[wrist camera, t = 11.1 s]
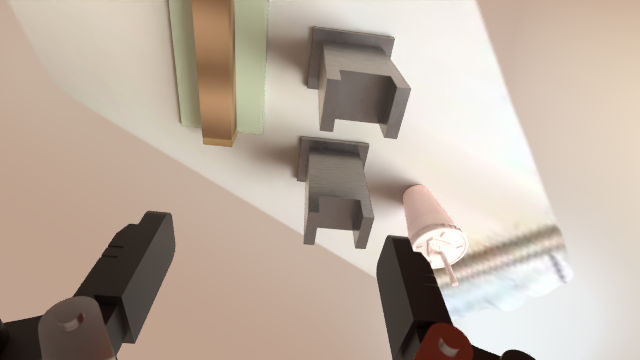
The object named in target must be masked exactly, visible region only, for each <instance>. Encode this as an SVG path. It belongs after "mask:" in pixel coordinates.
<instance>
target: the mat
mask: <svg viewBox="0 0 640 360" xmlns="http://www.w3.org/2000/svg"><path fill="white" fill-rule="evenodd" d="M168 1H169V10H170V19H171V29H172V38H173V47H174V57H175V66H176V75H177V85H178V94H179V103H180V113H181V122H182V126H188V127H197V128H202V124H201V111H200V99H199V87H198V75H197V63H196V51H195V38H194V26H193V14H192V2H191V0H168ZM234 6H235V59H236V111H237V132H244V133H253V134H263V124H264V99H265V73H266V48H267V22H268V0H234Z"/></svg>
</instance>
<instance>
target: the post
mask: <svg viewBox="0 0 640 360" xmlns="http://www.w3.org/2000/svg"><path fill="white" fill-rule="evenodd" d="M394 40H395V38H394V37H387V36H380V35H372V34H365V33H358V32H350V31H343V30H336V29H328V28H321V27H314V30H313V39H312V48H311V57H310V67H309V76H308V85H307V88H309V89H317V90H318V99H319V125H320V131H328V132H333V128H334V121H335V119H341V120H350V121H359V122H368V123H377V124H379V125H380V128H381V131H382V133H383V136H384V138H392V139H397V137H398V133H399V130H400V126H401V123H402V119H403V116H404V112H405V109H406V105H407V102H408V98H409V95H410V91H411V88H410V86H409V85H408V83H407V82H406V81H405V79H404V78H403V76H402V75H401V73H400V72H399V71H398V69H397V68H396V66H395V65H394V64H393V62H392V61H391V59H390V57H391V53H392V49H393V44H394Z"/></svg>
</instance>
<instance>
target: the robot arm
mask: <svg viewBox="0 0 640 360" xmlns="http://www.w3.org/2000/svg"><path fill="white" fill-rule="evenodd" d="M174 252H175V237H174V229H173V221H172V215H171V214H170V213H166V212H157V211H156V212H155V211H147V212H146V213H145V214H144V216H143V218H142V219H141V221H140V222H139V224H129V225H127V226H126V227H124V228H123V229H122V230H120V231H119V232H118V233H116V235H115V236H114V238H113V239H112V241H111V242H110V243H109V245H108V248H106V249H105V251H104V252H103V254H102V257H101V258H99V260H98V261H97V262H96V264H95V265H94V267H93V268H92V270H91V271H90V272H89V274H88V275H87V277H86V279H85V280H84V281H83V283H82V284H81V286H80V287H79V288H78V290H77V291H76V293H75V294H74V296H73V297H71V298H68V299H65V300H63V301H60V302H59V303H57V304H55V305H54V306H52V307H51V308H50V309H49V310H47V312H46V313H45V314H44V315H41V316H37V317H32V318H28V319H22V320H17V321H12V322H6V323H3V322H2V321H1V319H0V360H118V359H117V356H116V355H117V353H118V351H119V349H120V347H121V345H122V343H132V344H133V343H134V344H135V342H136V340H137V338H138V335H139V333H140V331H141V329H142V326H143V324H144V322H145V320H146V318H147V315H148V313H149V311H150V308H151V306H152V304H153V302H154V300H155V298H156V295H157V293H158V291H159V288H160V286H161V284H162V282H163V280H164V277H165V275H166V273H167V271H168V268H169V266H170V264H171V262H172V259H173V257H174ZM377 281H378V287H379V292H380V297H381V302H382V307H383V312H384V317H385V323H386V328H387V333H388V338H389V343H390V348H391V354H392V359H393V360H535V359H534V358H533V357H531V356H530V355H528V354H526V353H524V352H522V351H519V350H508V351H506V352H504V353H503V355H502V356H498V355H496V354H493V353H491V352H488V351H485V350H483V349H480V348H478V347H475V346H474V345H472V344H471V343H470V341H469V340H468V338H467V337H466V336H465V335H464V333H463V332H462V331H460V330H459V329H458V328H456V327H454V326H453V323H452V321H451V318H450V316H449V313H448V310H447V308H446V305H445V302H444V299H443V297H442V294H441V291H440V289H439V287H438V283H437V281H436V278H435V277H434V273H433V270H432V267H431V265H430V262H429V261H428V260H427V259H426V258H425V256H424V255H423V254H422V253H421V252H417V251H413V248H412V245H411V242H410V239H409V238H408V237H403V236H393V235H388V236H387V238H386V240H385V243H384V246H383V249H382V251H381V254H380V257H379V260H378V263H377Z"/></svg>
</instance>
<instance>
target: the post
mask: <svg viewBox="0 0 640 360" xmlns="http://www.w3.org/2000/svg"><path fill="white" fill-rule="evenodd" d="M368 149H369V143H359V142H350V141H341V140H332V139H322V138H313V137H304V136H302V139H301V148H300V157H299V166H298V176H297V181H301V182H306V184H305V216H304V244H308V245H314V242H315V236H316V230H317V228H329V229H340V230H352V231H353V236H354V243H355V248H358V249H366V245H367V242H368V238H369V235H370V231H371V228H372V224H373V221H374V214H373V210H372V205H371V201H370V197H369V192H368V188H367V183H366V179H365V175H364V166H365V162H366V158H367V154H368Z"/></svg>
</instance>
